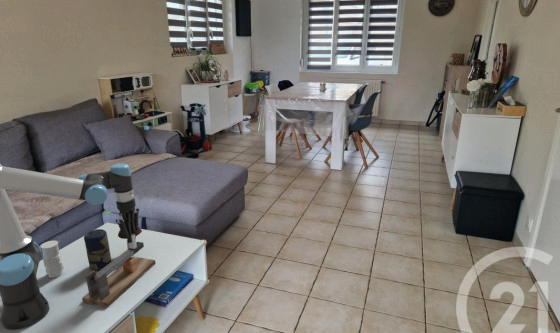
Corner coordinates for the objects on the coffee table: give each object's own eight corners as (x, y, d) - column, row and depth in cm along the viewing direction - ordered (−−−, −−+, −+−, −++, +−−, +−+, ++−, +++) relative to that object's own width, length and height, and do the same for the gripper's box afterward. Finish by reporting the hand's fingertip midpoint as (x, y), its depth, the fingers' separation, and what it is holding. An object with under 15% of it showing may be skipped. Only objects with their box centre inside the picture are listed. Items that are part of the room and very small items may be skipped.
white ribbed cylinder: (44, 274, 166) (38, 244, 161) (61, 267, 171) (55, 238, 166) (49, 280, 161) (42, 250, 157) (66, 273, 166) (60, 244, 162)
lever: (91, 281, 145) (90, 277, 144) (137, 245, 172) (137, 241, 171) (99, 283, 144) (98, 278, 143) (144, 246, 171) (143, 242, 170)
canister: (103, 272, 167) (96, 237, 161) (85, 270, 169) (78, 235, 163) (116, 261, 176) (110, 227, 170) (98, 259, 178) (92, 225, 172)
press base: (82, 302, 147) (77, 276, 143) (133, 260, 176) (130, 237, 173) (107, 307, 144) (103, 281, 140) (155, 263, 173) (152, 241, 170)
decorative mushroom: (130, 260, 176) (126, 232, 171) (116, 254, 181) (111, 227, 177) (149, 250, 185) (145, 223, 180) (134, 244, 190) (131, 218, 186)
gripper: (122, 206, 151) (130, 256, 158) (142, 194, 163) (149, 241, 170) (107, 204, 153) (115, 254, 160) (127, 192, 165) (135, 239, 172)
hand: (133, 247), depth 165 cm, fingers closed
